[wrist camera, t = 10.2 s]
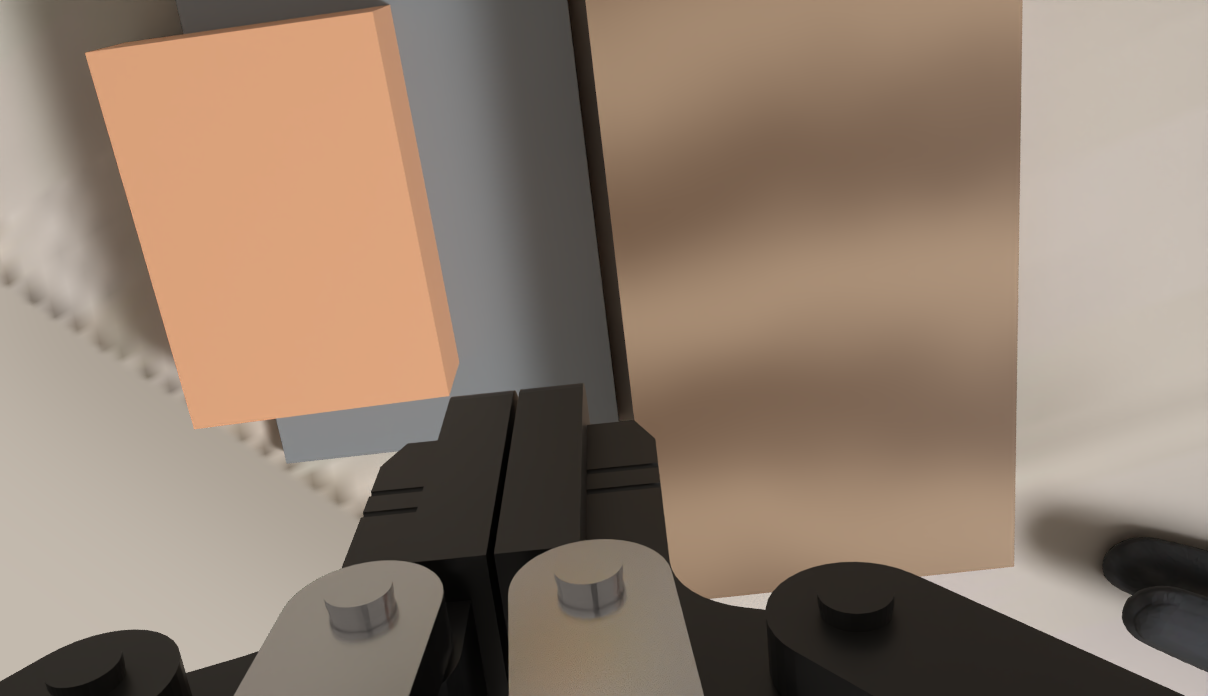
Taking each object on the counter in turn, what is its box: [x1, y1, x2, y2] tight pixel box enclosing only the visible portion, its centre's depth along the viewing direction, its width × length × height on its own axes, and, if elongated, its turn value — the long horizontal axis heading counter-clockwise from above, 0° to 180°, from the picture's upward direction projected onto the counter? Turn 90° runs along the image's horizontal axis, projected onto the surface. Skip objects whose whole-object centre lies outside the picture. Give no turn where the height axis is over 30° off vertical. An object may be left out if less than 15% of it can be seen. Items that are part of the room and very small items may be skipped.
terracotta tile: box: [85, 5, 459, 429], centre depth 30 cm, size 10×7×2 cm
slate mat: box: [176, 0, 619, 463], centre depth 31 cm, size 16×10×1 cm, turn 7°
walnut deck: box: [585, 0, 1022, 599], centre depth 29 cm, size 24×10×4 cm, turn 7°
